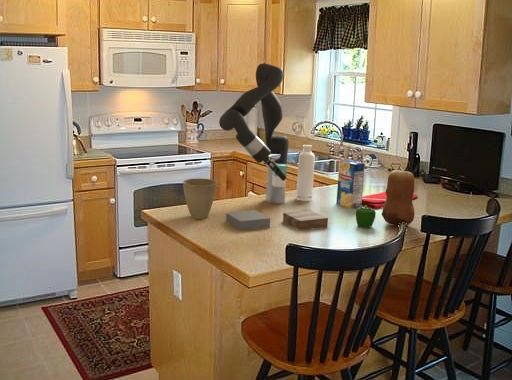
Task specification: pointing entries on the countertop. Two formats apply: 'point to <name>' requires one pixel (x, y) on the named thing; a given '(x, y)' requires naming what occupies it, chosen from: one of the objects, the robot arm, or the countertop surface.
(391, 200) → the butternut squash
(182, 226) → the countertop surface
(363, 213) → the bell pepper
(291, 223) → the walnut stand
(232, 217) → the grey stand
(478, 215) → the countertop surface
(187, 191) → the plant pot
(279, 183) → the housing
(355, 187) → the beverage box
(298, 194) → the bottle
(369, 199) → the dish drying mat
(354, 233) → the countertop surface
